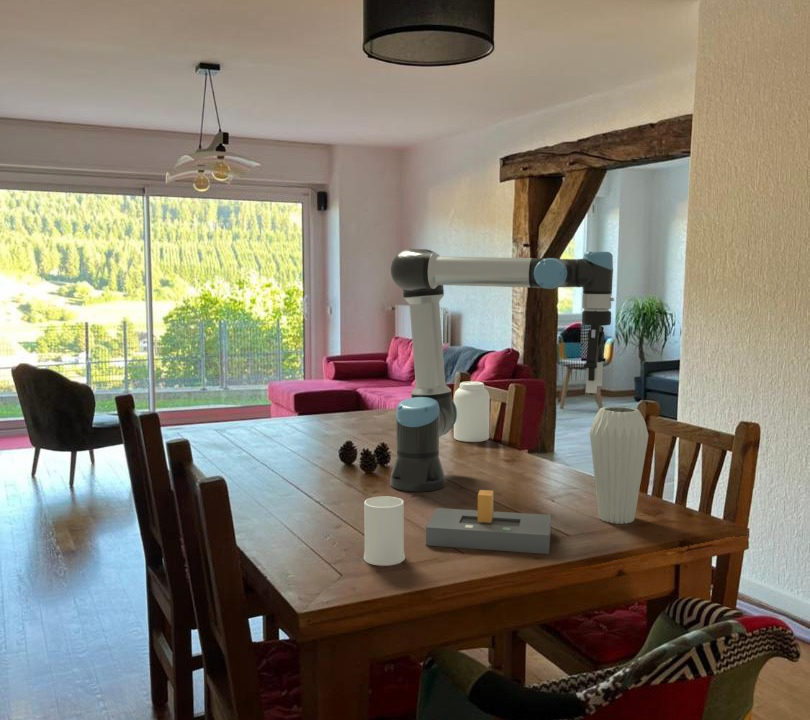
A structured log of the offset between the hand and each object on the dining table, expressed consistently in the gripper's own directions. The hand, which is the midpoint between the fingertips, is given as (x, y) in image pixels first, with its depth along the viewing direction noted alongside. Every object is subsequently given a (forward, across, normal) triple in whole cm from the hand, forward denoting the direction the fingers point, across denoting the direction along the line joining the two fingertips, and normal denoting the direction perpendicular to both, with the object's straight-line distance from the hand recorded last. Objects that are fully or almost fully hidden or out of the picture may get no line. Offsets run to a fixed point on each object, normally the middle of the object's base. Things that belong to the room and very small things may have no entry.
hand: (594, 389), depth 212 cm
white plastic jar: (+27, +49, +47) cm, 73 cm away
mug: (+27, -67, +35) cm, 81 cm away
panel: (+27, -50, +16) cm, 59 cm away
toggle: (+23, -50, +17) cm, 58 cm away
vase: (+27, -26, -9) cm, 39 cm away
